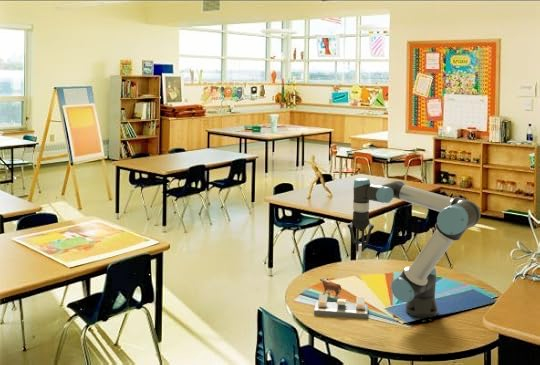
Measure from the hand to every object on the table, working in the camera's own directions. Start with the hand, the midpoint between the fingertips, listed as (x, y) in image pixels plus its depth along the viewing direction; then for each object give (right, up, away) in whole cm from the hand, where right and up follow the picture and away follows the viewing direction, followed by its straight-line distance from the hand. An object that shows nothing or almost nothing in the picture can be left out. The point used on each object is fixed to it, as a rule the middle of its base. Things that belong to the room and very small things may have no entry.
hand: (359, 257), depth 287 cm
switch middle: (-9, -21, -3) cm, 23 cm away
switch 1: (-18, -21, -2) cm, 28 cm away
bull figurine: (-13, -22, +17) cm, 31 cm away
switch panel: (-9, -26, -3) cm, 27 cm away
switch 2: (0, -21, -5) cm, 22 cm away
